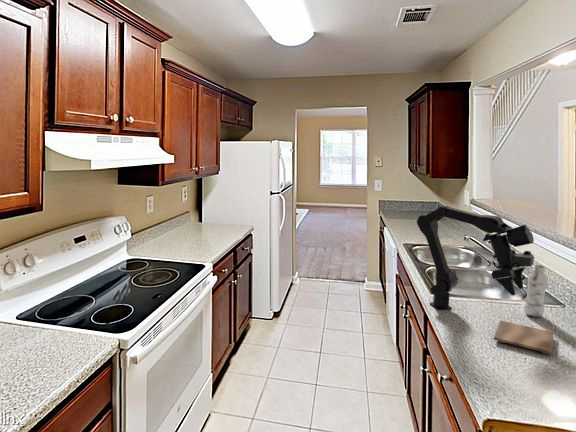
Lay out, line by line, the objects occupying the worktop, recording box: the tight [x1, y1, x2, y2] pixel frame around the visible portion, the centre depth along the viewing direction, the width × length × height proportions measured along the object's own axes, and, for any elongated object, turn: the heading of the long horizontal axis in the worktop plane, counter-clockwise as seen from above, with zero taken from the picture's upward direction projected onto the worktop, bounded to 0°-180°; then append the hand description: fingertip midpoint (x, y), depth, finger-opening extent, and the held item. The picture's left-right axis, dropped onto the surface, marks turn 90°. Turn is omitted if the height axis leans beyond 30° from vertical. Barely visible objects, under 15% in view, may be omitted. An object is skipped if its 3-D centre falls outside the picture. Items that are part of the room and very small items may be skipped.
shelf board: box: [493, 320, 554, 355], centre depth 128 cm, size 16×16×2 cm
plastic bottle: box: [523, 264, 549, 318], centre depth 146 cm, size 6×7×20 cm
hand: (517, 291), depth 135 cm, fingers open, 9 cm apart
